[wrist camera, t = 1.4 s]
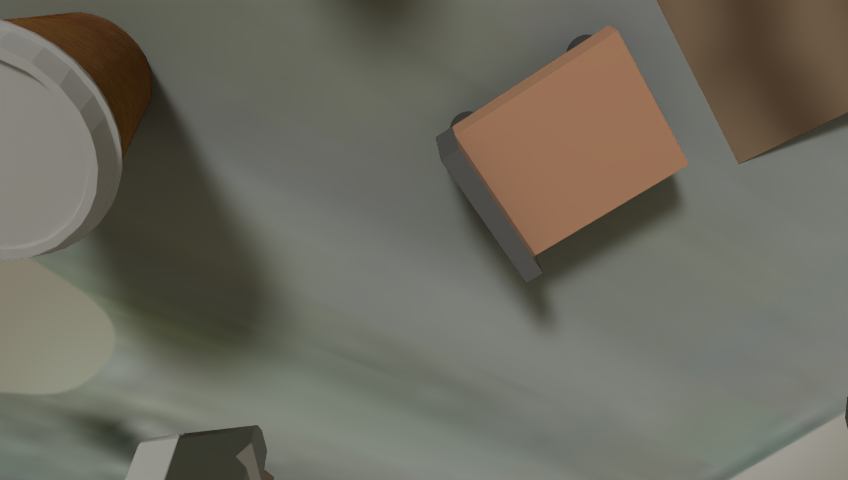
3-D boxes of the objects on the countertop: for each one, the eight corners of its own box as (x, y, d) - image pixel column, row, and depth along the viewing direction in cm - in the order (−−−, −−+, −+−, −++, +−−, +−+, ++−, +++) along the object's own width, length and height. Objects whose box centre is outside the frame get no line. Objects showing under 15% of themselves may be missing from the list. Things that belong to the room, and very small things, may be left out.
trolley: (598, 17, 39) (630, 39, 34) (665, 142, 42) (704, 178, 37) (433, 125, 41) (441, 160, 36) (509, 236, 44) (526, 283, 39)
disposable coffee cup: (120, -55, 36) (11, -24, 25) (218, 126, 40) (160, 219, 29) (-53, 23, 37) (-230, 85, 26) (59, 191, 41) (-54, 305, 30)
